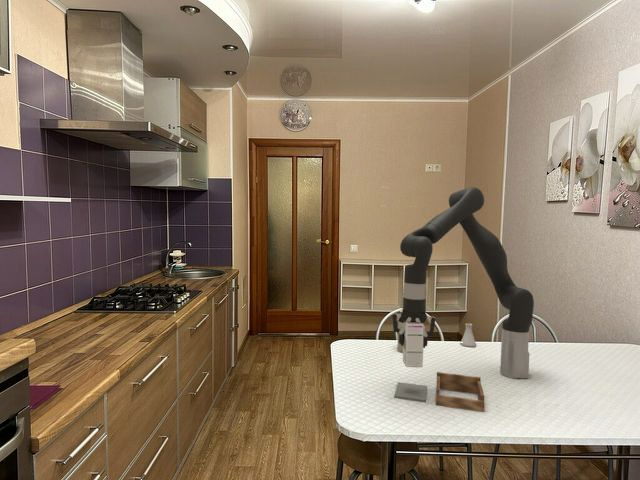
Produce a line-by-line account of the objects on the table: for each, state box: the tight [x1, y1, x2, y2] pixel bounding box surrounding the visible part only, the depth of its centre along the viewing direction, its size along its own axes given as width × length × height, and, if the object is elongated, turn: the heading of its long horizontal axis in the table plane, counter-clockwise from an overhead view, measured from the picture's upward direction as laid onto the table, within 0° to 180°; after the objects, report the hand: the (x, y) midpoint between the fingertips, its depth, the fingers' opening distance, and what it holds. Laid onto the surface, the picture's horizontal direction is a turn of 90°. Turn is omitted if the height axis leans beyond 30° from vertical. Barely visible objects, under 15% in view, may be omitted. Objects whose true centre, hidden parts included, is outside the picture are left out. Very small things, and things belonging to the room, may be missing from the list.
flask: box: [459, 322, 477, 348], centre depth 190 cm, size 7×7×10 cm
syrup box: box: [402, 322, 425, 368], centre depth 134 cm, size 6×6×14 cm
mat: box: [393, 381, 428, 403], centre depth 135 cm, size 10×12×1 cm
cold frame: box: [435, 371, 485, 413], centre depth 130 cm, size 14×14×6 cm
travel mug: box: [396, 308, 404, 353], centre depth 179 cm, size 8×8×18 cm
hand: (412, 346), depth 134 cm, fingers closed on syrup box, 6 cm apart
